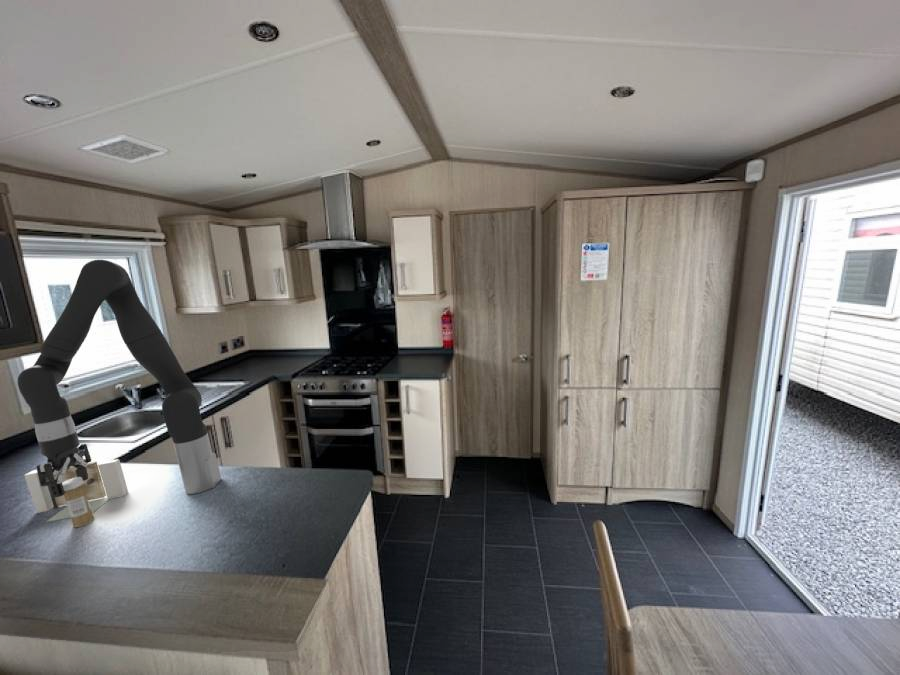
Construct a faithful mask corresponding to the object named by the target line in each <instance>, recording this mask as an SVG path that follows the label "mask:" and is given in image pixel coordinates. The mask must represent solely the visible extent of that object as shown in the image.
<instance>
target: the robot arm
mask: <svg viewBox="0 0 900 675" xmlns="http://www.w3.org/2000/svg"><path fill="white" fill-rule="evenodd" d="M104 301H105V302H106V304H107V305H108V306H109V308H110V309H111V311H112V313H113V315H114V318H115V320H116V325H117V328H118V330H119V333H120V337H121V338H122V340H123V342H124V344H125V346H126V347H127V349H128V350H129V353H130V354H131V355H132V357H133V358H134V360H136V362H137V363H138V364H139V365H141V367H143V369H145V370H146V371H147V372H148V373H149V374H151V376H153V377H154V379H155V380H156V381H157V382H158V384H159V385H160V387H161V389H162V391H163V392H164V395H165V398H164V399H163V401H162V404H161V411H162V415H163V419H164V420H163V421H164V423H165V426H166V430H167V432H168V435H169V436H170V438H171V439H172V440H171V441H172V443H173V448H174V450H175V451H174V452H175V456H176V459H177V463H178V464H177V465H178V467H179V471H180V474H181V478H182V482H183V488H184V490H185V491H184V492H185V493H186V494H187V495H194V494H195V495H196V494H199V493H202V492H206V491H208V490H210V489H214V488H215V487H216V486H217V484H218V483H219V482H220V481H221V479H222V476H221V472H220V468H219V467H220V466H219V463H218V459H217V454H216V453H215V452H213V450H212V446H211V442H210V436H209V433H208V428H207V425H206V424H205V423H204V422H203V419H202V415H201V410H200V408H201V405H202V401H203V399H202V394H201V392H200V391H199V389H198V388H197V387H196V386H195V384H194V383H193V382H192V380H191V379H190V378H189V377H188V375H187V374H186V373H185V371H184V370H183V368H182V366H181V365H180V363H179V361H178V359H177V357H176V354H175V353H174V351H173V350H172V347H171V346H170V344H169V342H168V340H167V338H166V337H165V335H164V334H163V332H162V330H161V329H160V328H159V326H158V324H157V323H156V321H155V320H154V318H153V316H152V315H151V314H150V313H149V311H148V310H147V308H146V307H145V306H144V305H143V303H142V301H141V299H140V297H139V294H138V293H137V291H136V289H135V286H134V284H133V282H132V279H131V277H130V275H129V273H128V271H127V270H126V269H125V268H124V267H123V266H121V265H119V264H117V263H116V262H112V261H110V260H107V259H93V260H90V261H88V262H86V263H85V264H84V265H83V266H82V268H81V270H80V273H79V275H78V278H77V279H76V282H75V286H74V288H73V291H72V293H71V295H70V297H69V299H68V301H67V304H66V305H65V307H64V309H63V311H62V313H61V315H60V316H59V318H58V319H57V321H56V322H55V324H54V326H53V327H52V329H51V330H50V331H49V333H48V335H47V337H45V339H44V341H43V342H42V344H41V346H40V348H39V352H40V354H39V356H38V358H37V360H36V361H35V363H34V364H33V365H32V366H30V367H27V368H25V369H24V370H23V371H21V372H20V373H19V375H18V378H17V386H18V390H19V392H20V394H21V396H22V397H23V400H25V402H26V404H27V405H28V407H29V408H30V413H31V416H32V419H33V420H32V421H33V423H34V432H35V436H36V439H37V444H38V445H39V446H38V447H39V449H40V453H41V455H42V456H43V457H46V458H47V459H46V460H47V461H46V462H45V463H42V464H37V466H36V470H37V472H38V477H39V481H40V485H41V486H42V487H43V486H50V488H51V491H52V495H53V496H54V497H60V496H63V495H64V494H65V492H64V488H63V485H62V482H61V480H62V476H63V475H64V474H65V473H66V470H67V469H69V468H70V467H71V466H73V467H74V468H77V469H76V470H75V471H76V475H77V477H82V479H83V481H85V480H87V479H88V473H87V469H86V467H87V463H91V462H92V457H91V455H90V450H89V448H88V445H87V443H83V444H82V443H81V442H80V439H79V436H78V432H77V428H76V424H75V422H74V420H73V418H72V415H71V412H70V407H69V404H68V402H67V399H66V398H65V397H63V396H62V395H61V394H60V392H59V389H58V385H59V384H60V383H61V382H62V381H63V380H64V378H65V376H66V374H67V372H68V370H69V369H70V368H69V367H71V363H72V361H73V359H74V357H75V356H76V354H77V353H78V351H79V350H80V348H81V347H82V346H83V343H84V342H85V340H86V338H87V336H88V334H89V332H90V330H91V327H92V323H93V320H94V318H95V316H96V314H97V312H98V309H99V308H100V307H101V305H102V304H103V302H104ZM55 470H56V471H59V472H54V471H55ZM55 476H57V478H56V480H54V477H55ZM45 477H47V478H48V481H46V479H45Z"/></svg>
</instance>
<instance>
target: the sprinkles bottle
mask: <svg viewBox="0 0 900 675" xmlns="http://www.w3.org/2000/svg"><path fill="white" fill-rule="evenodd" d="M83 483H84V482H83V479H82V477H75V478H72V479H69V480H66V481H64V482H63V483H62V485H63V488H64V492H65V494H64V497H65V501H66V504H67V505H66V507H68V511H69V514H70V517H71V522H72V527H73V528H79V527H83V526H86V525H87V524H90V523H91V522H93V521H94V519H95V516H94V513H92V511H91V506H90V503H89V502H90V500H88V498H87V495H86V491H85V488H84V485H83Z"/></svg>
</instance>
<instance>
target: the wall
mask: <svg viewBox="0 0 900 675" xmlns="http://www.w3.org/2000/svg"><path fill="white" fill-rule="evenodd" d="M97 465H98V469H99V472H100V475H101V479H102V482H103V486H104V489H105V493H106V498H111V499H116V498H121V497H125V496H126V495H128V494H129V490H128V485H127V483H126V479H125V475H124V471H123V469H122V468H123V467H122V465H121V462H120V459H118V458H117V459H113V460H106V461H102V462H100V463H98V464H97Z"/></svg>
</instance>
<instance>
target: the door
mask: <svg viewBox="0 0 900 675" xmlns="http://www.w3.org/2000/svg"><path fill="white" fill-rule="evenodd" d="M98 465H99V464H98V462H97V461H93V462H92V461H91V462H88V463H87V467H86V469H87V473H88V479H87V480H85V481H83V482H84V483H83V485H84V488H85V491H86V495H87V498H88V500H89V501H94V500H99V499H105V497H107V494H106V491H105V488H104V484H103V481H102V477H101V474H100V470H99V467H98ZM76 469H77V468H74V467H73V466H71V467H70V468H69V469H67V470H66V473H65V474H64V475H63V476H62V480H61V482H62V483H63V482H64V481H66V480H69V479H72V478H75V477H77V475H76V471H75V470H76ZM54 472H59V471H56V470H55V471H54ZM56 478H57V476H55V477H54V480H56ZM45 479H46V481H48V478H47V477H45ZM47 487H48V490H49V493H50V496H51V499H52V503H53V506H54V507H53V508H54V509H56V508H58V507H61V506H65V505H66V506H67V504H66V501H65V497H64V495H63V496H60V497H54V496H53V495H52V491H51V488H50V486H47Z"/></svg>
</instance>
